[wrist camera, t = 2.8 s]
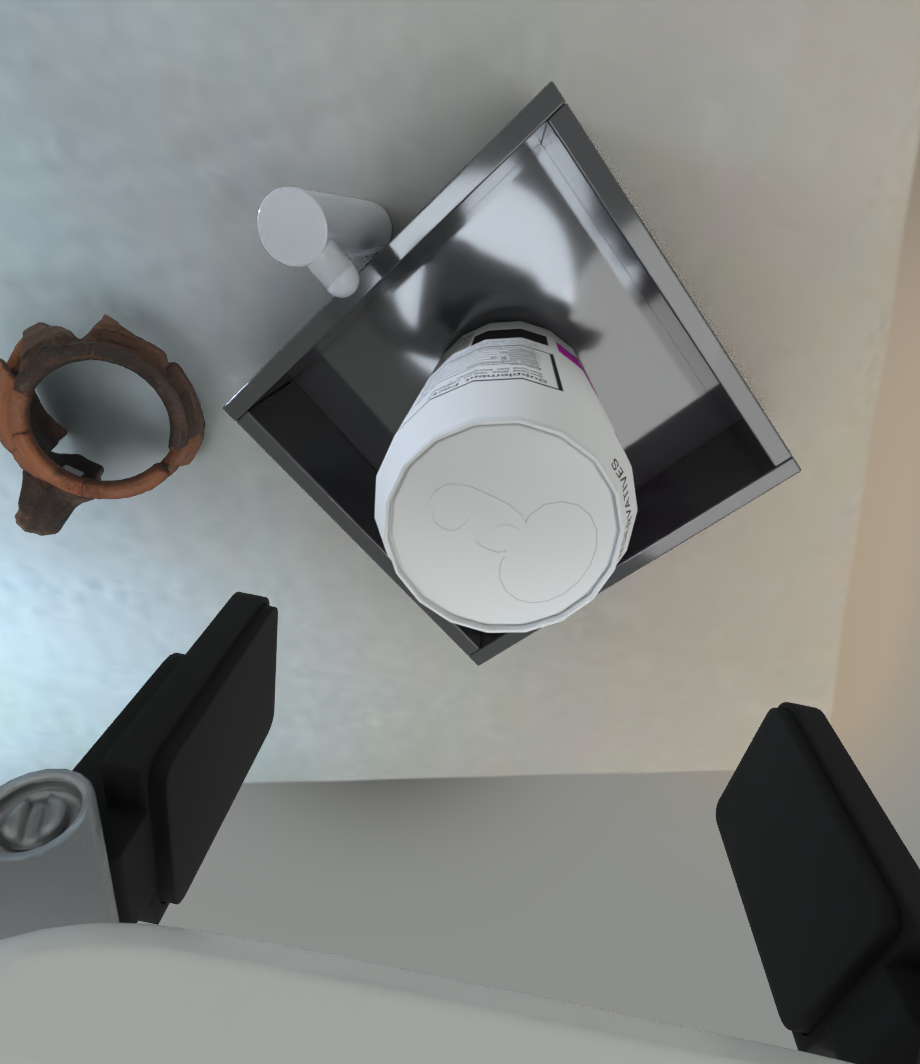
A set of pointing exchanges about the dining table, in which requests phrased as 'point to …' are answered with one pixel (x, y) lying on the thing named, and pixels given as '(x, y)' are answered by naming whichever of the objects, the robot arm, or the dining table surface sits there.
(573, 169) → the sink
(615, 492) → the supplement can
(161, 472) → the pottery mug
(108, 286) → the dining table surface
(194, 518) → the dining table surface
